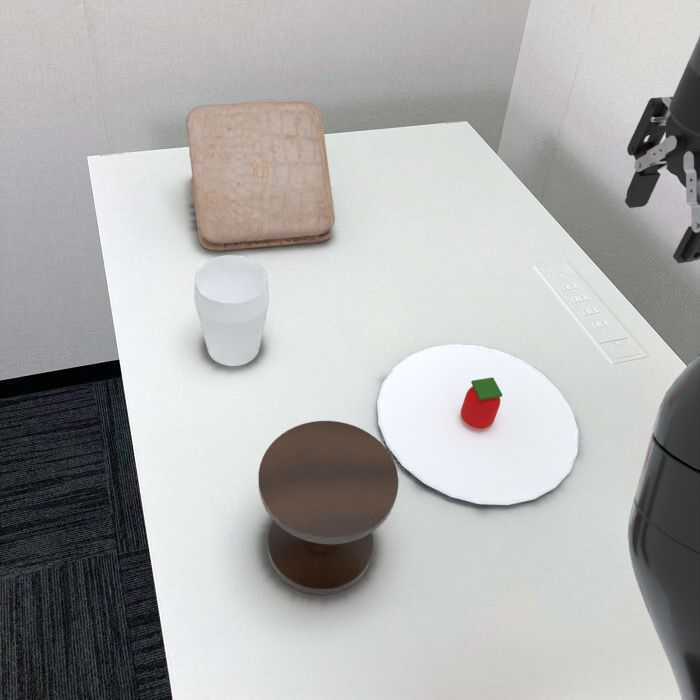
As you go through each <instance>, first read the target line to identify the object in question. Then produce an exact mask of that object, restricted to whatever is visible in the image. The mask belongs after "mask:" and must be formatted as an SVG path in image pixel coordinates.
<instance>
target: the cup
mask: <svg viewBox="0 0 700 700" xmlns="http://www.w3.org/2000/svg"><path fill="white" fill-rule="evenodd" d="M193 277H194V278H193V281H194V282H193V283H194V284H193V285H194V286H193V287H194V294H193V300H194V305H195V309H196V313H197V316H198V320H199V324H200V327H201V330H202V334H203V338H204V342H205V345H206V348H207V352H208V355H209V356H210V357H211V359H212V360H213V361H214V362H216V363H218V364H220V365H223V366H226V367H240V366H243V365H246V364H248V363H250V362H252V361H253V360H254V359H256V357H257V356H258V354H259V352H260V347H261V343H262V338H263V332H264V329H265V323H266V318H267V313H268V309H269V304H270V288H269V275H268V272H267V271H266V269H265V267H264V266H263V265H261V264H260V263H259V262H258V261H256V260H255V259H252V258H250V257H247V256H242V255H236V254H234V255H232V254H228V255H220V256H216V257H213V258H210V259H208V260H207V261H205V262H203V263H202V264H201V265H200V266H199V267H198V268H197V269H196V271H195V274H194V276H193Z"/></svg>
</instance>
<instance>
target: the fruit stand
mask: <svg viewBox="0 0 700 700" xmlns="http://www.w3.org/2000/svg"><path fill="white" fill-rule="evenodd" d="M388 450H389V449H387V448H386V446H384V444H383V443H382V442H381V441H380V440H379V439H378V438H376V437H375V436H374V435H373V434H371V433H370V432H368V431H366V430H364V429H362V428H360V427H358V426H356V425H354V424H350V423H347V422H343V421H336V420H315V421H310V422H305V423H302V424H299V425H296V426H294V427H291V428H290V429H288V430H286V431H284V432H283V433H281V434H280V435H278V436H277V437H276V438H275V439H274V440H273V441H272V442H271V444H269V446H268V447H267V449H266V450H265V452H264V454H263V456H262V459H261V461H260V464H259V469H258V493H259V497H260V500H261V503H262V504H263V507H264V509H265V511H266V512H267V514H268V515H269V517H270V518H271V519H272V522H271V524H270V526H269V530H268V534H267V553H268V559H269V562H270V564H271V566H272V568H273V570H274V571H275V573H276V574H277V576H278V577H279V578H280V579H281V580H282V581H283V582H285V583H286V584H287V585H288V586H290V587H292V588H293V589H295V590H297V591H299V592H302V593H305V594H309V595H317V596H318V595H319V596H327V595H333V594H336V593H339V592H342V591H344V590H347V589H349V588H350V587H353V585H355V584H356V583H357V582H358V581H359V580H360V579H361V578H362V577H363V576H364V574H365V573H366V571H367V569H368V568H369V566H370V563H371V560H372V556H373V549H374V537H373V533H374V531H376V530H377V529H379V528H380V527H381V526H382V525H383V524H384V523H385V522H386V520H387V519H388V517H389V516H390V514H391V512H392V511H393V509H394V507H395V503H396V500H397V496H398V491H399V475H398V474H399V473H398V470H397V469H398V468H397V466H396V463H395V461H394V459H393V457H392V455H391V452H389V451H388Z"/></svg>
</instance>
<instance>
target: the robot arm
mask: <svg viewBox="0 0 700 700" xmlns="http://www.w3.org/2000/svg"><path fill="white" fill-rule="evenodd" d="M664 136H665V139H663V137H664ZM646 138H647V140H646ZM662 139H663V141H662ZM661 141H662V142H661ZM626 148H627V149H626V152H627V154H628V156H631V157H633V158H634V160H635V162H634V170H635V172H634V173H633V176H632V178H631V180H630V182H629V186H628V188H627V190H626V195H625V196H626V197H625V200H624V203H625V205H626V206H627V207H628V208H630V209H633V208H641V207H645V206H646V205H647V204H648V203H649V202H650V198H651V196H652V195H653V193H654V190H655V188H656V185H657V183H658V181H659V179H660V177H661V175H662V174H661V173H660V172H659V171H661V170H663V169H666V170H667V171H668V172H669V173H670V174H672V175H674V176H676V177H677V179H678V181H679V182H680V184H681V186H683V187H684V188H685V189H686V190H685V191H686V192H685V193H686V195H685V196H686V198H685V199H686V200H685V201H686V204H687V205H688V206H690V209H691V210H690V212H691V213H690V215H691V217H690V219H691V220H690V222H691V226H690V225H689V226H688V227H687V228H686V230H685V232H684V234H683V236H682V237H681V239H680V241H679V243H678V245H677V247H676V249H675V251H674V253H673V254H672V258H673V259H674V261H675V262H676V263H677V264H684V263H691V262H694V261H699V260H700V35H699V36H698V39H697V41H696V43H695V45H694V48H693V50H692V53H691V55H690V57H689V59H688V61H687V64H686V66H685V68H684V71H683V73H682V75H681V78H680V80H679V82H678V84H677V87H676V88H675V91H674V94H673V96H659V97H651V98H650V99H649V100H648V102H647V104H646V106H645V108H644V110H643V113H642V115H641V117H640V119H639V121H638V122H637V125H636V127H635V129H634V131H633V134H632V136H631V138H630V141H629V142H628V145H627V147H626ZM640 472H641V473H640V476H639V478H638V483H637V485H636V491H635V494H634V499H633V502H632V504H631V510H630V513H629V519H628V528H627V541H628V551H629V558H630V562H631V566H632V570H633V573H634V577H635V581H636V583H637V586H638V589H639V591H640V594H641V597H642V600H643V602H644V603H643V604H644V605H645V608H646V610H647V613H648V616H649V618H650V620H651V622H652V625H653V627H654V630H655V632H656V635H657V637H658V640H659V642H660V644H661V647H662V649H663V651H664V654H665V656H666V658H667V661H668V663H669V665H670V668H671V671H672V674H673V677H674V679H675V681H676V685H677V688H678V691H679V695H680V698H681V700H700V353H699V354H698V355H697V356H696V357H695V358H694V359H692V361H691V362H690V363H689V364H688V365H687V366H686V367H685V368H684V369H683V371H681V373H680V374H679V375H678V376H677V377H676V379H675V380H674V381H673V383H672V384H671V386H670V387H669V388H668V389H667V391H666V392H665V394H664V396H663V398H662V401H661V402H660V404H659V408H658V411H657V414H656V417H655V420H654V425H653V428H652V433H651V435H650V439H649V443H648V447H647V450H646V454H645V457H644V460H643V464H642V469H641V471H640Z"/></svg>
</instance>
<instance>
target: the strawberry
mask: <svg viewBox="0 0 700 700" xmlns="http://www.w3.org/2000/svg"><path fill="white" fill-rule="evenodd" d="M471 383H472V385H473V386H472V387H471V388H470V389H469V390H468V391H467V393H466V396H465V399H464V402H463V405H462V408H461V417H462V419H463V420H464V422H465V423H466V424H468V425H469V426H471V427H474V428H478V429H483V428H487V427H489V426H491V425H492V424H493V422H494V420H495V417H496V414H497V412H498V409H499V406H500V397H502V393H501V391H500V389H499V387H498V385H497V384H496V382H495V380H494V378H493V377H492V378H486V379H479V380H473V381H472V382H471Z"/></svg>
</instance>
